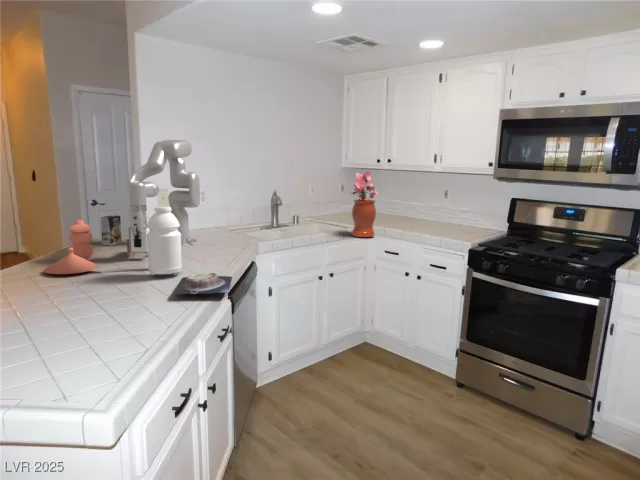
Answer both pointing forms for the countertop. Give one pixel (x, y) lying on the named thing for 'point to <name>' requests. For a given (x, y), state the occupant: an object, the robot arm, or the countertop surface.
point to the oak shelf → (129, 250)
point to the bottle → (164, 242)
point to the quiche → (203, 284)
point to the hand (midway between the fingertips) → (139, 245)
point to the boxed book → (143, 241)
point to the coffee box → (111, 230)
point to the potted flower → (363, 207)
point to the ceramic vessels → (76, 252)
